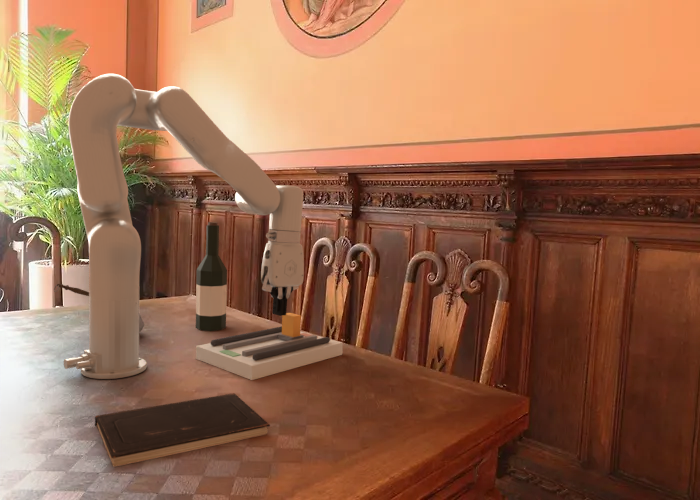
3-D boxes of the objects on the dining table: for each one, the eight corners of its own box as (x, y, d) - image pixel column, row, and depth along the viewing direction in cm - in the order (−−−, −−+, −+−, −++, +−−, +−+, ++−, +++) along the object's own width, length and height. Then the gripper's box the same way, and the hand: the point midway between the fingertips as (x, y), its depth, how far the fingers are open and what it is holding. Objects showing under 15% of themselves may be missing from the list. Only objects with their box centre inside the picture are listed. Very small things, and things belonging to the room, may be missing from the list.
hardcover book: (269, 438, 85) (269, 424, 84) (111, 472, 72) (111, 455, 72) (233, 404, 98) (233, 392, 98) (94, 428, 86) (94, 414, 85)
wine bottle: (232, 327, 154) (234, 223, 151) (210, 332, 147) (212, 223, 144) (211, 323, 158) (213, 221, 156) (189, 327, 151) (190, 221, 149)
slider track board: (251, 380, 110) (252, 361, 109) (195, 358, 123) (196, 341, 122) (342, 354, 131) (343, 338, 131) (286, 338, 144) (287, 324, 143)
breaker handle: (291, 342, 128) (292, 317, 127) (278, 338, 131) (278, 314, 131) (303, 339, 131) (304, 315, 130) (290, 335, 134) (290, 311, 134)
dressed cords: (255, 361, 112) (255, 355, 112) (209, 345, 123) (209, 339, 123) (331, 342, 130) (331, 337, 130) (285, 330, 141) (285, 325, 141)
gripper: (270, 238, 119) (265, 320, 120) (317, 239, 130) (312, 314, 131) (249, 236, 123) (244, 314, 125) (296, 237, 135) (291, 309, 136)
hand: (279, 314), depth 128 cm, fingers closed
